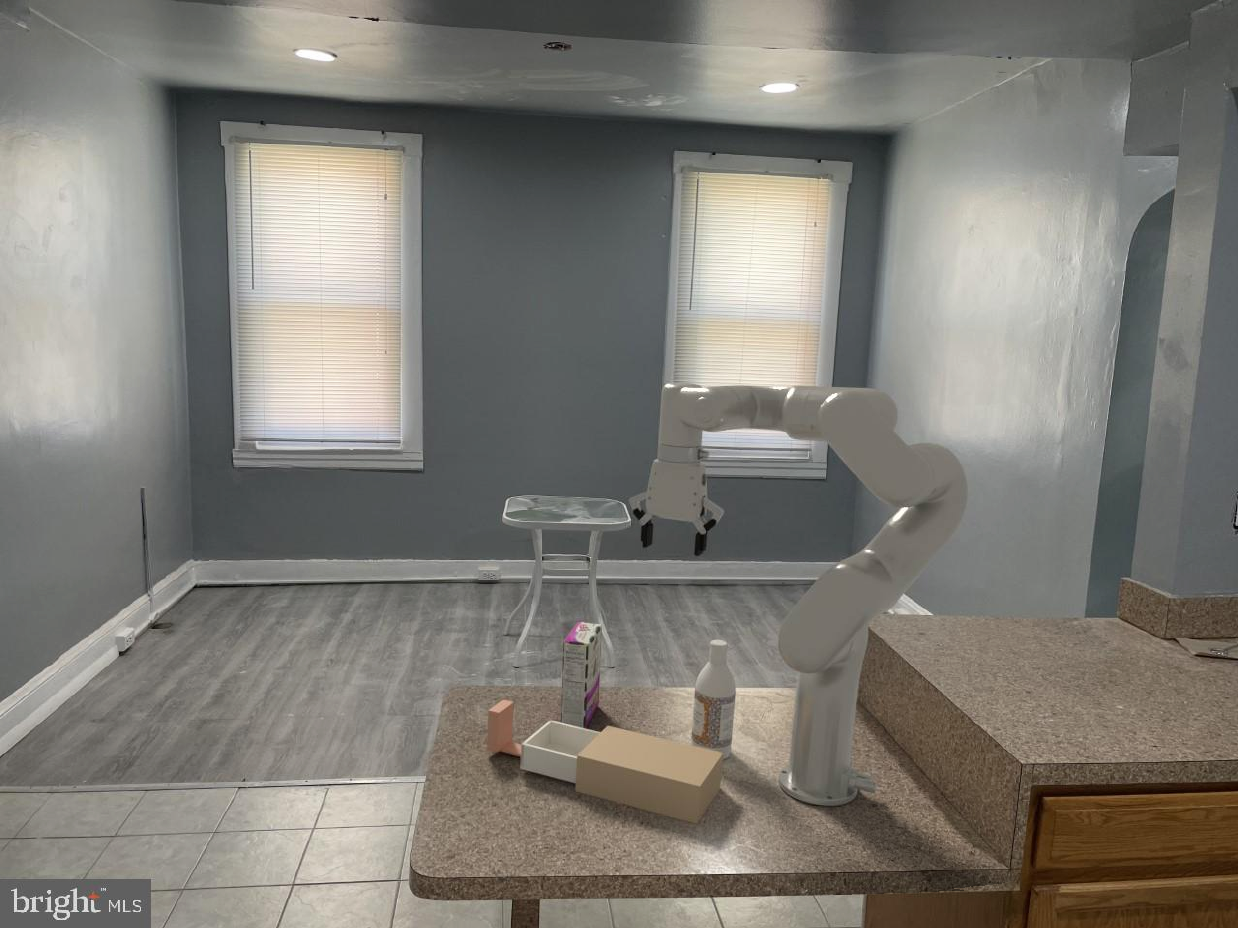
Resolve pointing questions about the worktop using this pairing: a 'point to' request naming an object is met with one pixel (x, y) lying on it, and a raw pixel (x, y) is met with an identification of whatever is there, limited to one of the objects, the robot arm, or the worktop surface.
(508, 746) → the tray
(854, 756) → the worktop surface
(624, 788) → the sleeve
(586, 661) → the candy bar box
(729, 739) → the bath foam
